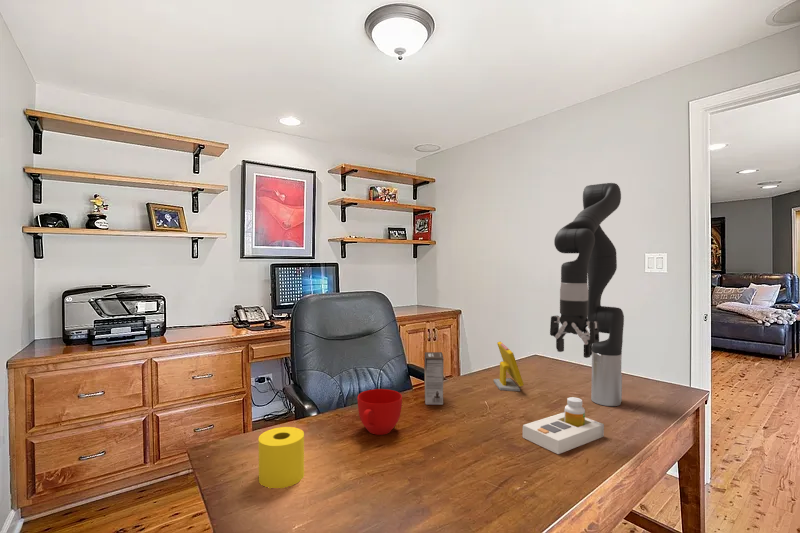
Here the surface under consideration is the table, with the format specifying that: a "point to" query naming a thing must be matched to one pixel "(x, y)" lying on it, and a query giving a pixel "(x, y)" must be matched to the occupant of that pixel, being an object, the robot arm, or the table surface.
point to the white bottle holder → (561, 433)
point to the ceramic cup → (379, 410)
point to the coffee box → (434, 378)
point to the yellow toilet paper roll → (281, 457)
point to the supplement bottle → (574, 412)
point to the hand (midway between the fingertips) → (573, 354)
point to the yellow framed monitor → (508, 370)
